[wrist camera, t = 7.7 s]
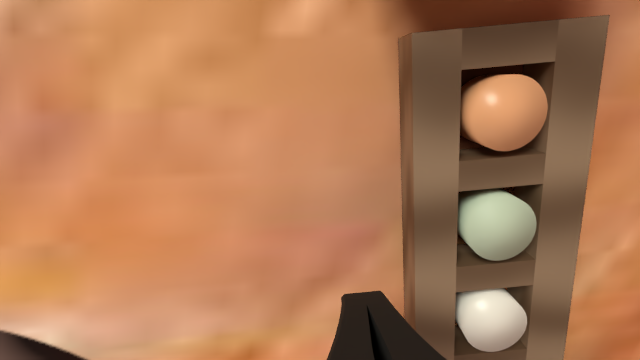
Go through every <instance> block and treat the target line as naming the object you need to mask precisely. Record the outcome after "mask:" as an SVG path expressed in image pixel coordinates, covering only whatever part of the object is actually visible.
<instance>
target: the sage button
mask: <svg viewBox="0 0 640 360" xmlns="http://www.w3.org/2000/svg"><path fill="white" fill-rule="evenodd" d="M535 231H536V217H535V214H534V212H533V210H532V208H531V207H530V206H529V205H528V204H527V203H525V202H524V201H522V200H520V199H519V198H517V197H515V196H513V195H512V194H510V193H508V192H506V191H505V190H503V189H501V188H492V189H481V190H471V191H461V192H460V193H459V194H458V223H457V234H458V235H459V236H460V237H461V238H462V239H463V240H464V241H465V242H466V243H467V244H468V245H469V246H470V247H471V248H472V249H473V250H474V252H476V253H477V254H478V255H479V256H481V257H483V258H485V259H488V260H494V261H500V260H506V259H509V258H512V257H514V256H516V255H518V254H519V253H521V252H522V251H523V250H524V249H525V248H526V247H527V246H528V245H529V244H530V242H531V241H532V239H533V237H534V234H535Z"/></svg>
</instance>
